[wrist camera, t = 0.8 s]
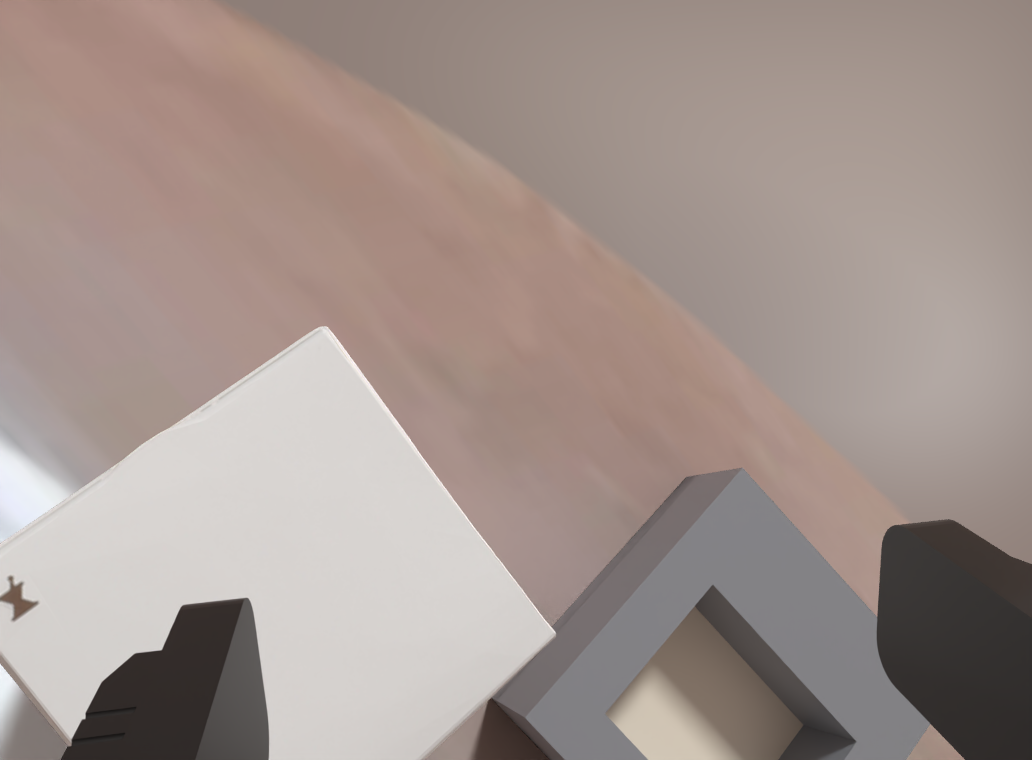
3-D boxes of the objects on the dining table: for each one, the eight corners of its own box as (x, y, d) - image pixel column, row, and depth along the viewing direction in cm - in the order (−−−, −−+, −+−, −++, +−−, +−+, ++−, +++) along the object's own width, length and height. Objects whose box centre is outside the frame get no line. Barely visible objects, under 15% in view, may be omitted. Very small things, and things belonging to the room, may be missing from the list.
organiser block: (489, 696, 33) (524, 717, 29) (686, 476, 37) (742, 467, 33) (700, 918, 34) (763, 970, 30) (870, 680, 38) (948, 696, 34)
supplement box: (230, 775, 30) (215, 971, 16) (70, 568, 30) (-86, 585, 16) (435, 601, 34) (572, 640, 19) (291, 412, 33) (324, 312, 19)
